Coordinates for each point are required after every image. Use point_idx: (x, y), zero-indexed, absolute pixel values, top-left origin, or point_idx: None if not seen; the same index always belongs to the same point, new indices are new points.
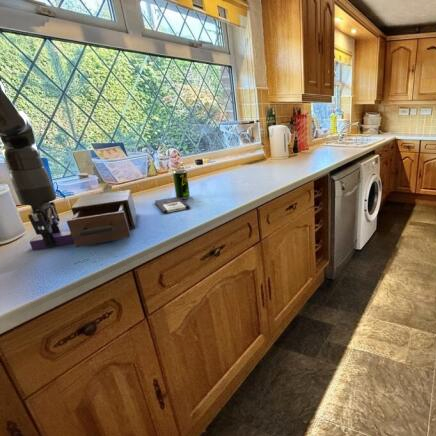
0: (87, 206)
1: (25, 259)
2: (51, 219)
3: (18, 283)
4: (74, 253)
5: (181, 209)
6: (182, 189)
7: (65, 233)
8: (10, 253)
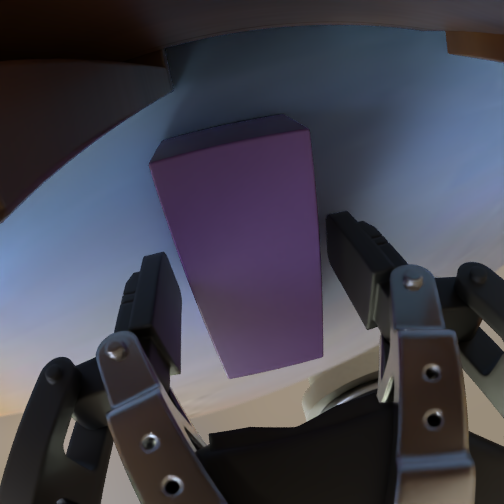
0: None
1: None
2: (417, 381)
3: None
4: (481, 64)
5: None
6: None
7: (239, 197)
8: (294, 374)
